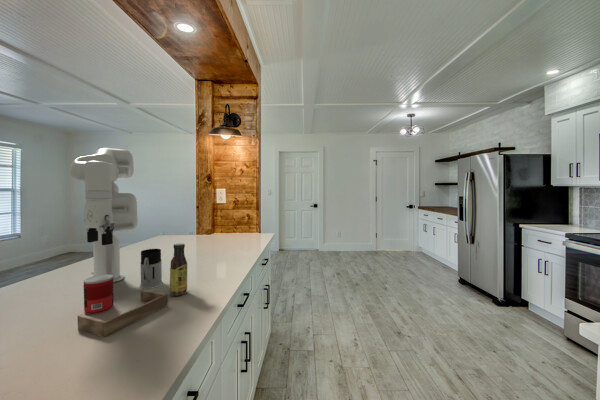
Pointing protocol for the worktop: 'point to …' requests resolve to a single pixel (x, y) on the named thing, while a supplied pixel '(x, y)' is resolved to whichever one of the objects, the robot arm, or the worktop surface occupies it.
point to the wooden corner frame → (124, 315)
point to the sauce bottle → (178, 271)
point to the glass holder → (151, 268)
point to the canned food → (98, 294)
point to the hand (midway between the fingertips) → (99, 243)
